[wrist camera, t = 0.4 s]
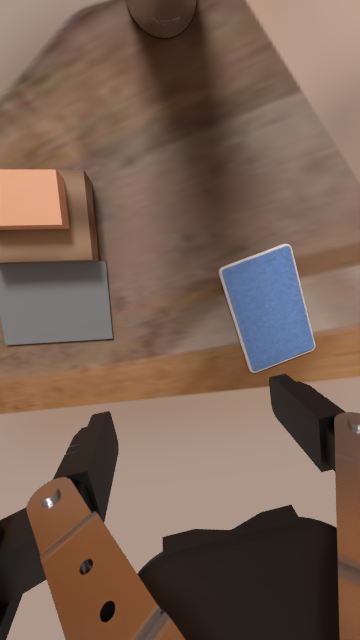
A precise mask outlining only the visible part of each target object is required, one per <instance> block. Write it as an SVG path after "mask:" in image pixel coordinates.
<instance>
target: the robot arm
mask: <svg viewBox="0 0 360 640" xmlns="http://www.w3.org/2000/svg"><path fill="white" fill-rule="evenodd" d="M196 1H197V0H126V2H127V6H128V9H129V11H130V14H131V15H132V17H133V19H134V20H135V22H136V23H137V24H138V25H139V26H140V27H141V28H142V29H143V30H144V31H146V32H147V33H148V34H151V35H153V36H155V37H160V38H170V37H173V36H176V35H178V34H179V33H181V32H182V31H184V30H185V28H186V27H187V26H188V25H189V23H190V22H191V20H192V18H193V15H194V12H195V8H196ZM269 385H270V395H271V404H272V409H273V412H274V414H275V416H276V417H277V419H278V420H279V421H280V423H281V424H282V425H283V426H284V427H285V428H286V430H287V431H288V432H289V433H290V434H291V436H292V437H293V438H294V439H295V440H296V442H297V443H298V444H299V445H300V447H301V448H302V449H303V450H304V451H305V453H306V454H307V455H308V456H309V457H310V459H311V460H312V461H313V462H314V463H315V465H316V466H317V467H318V468H319V469H320V471H321V472H324V471H328V470H332V469H333V470H334V471H335V473H336V511H337V528H336V527H334V526H332V525H329V524H327V523H324V522H322V521H319V520H315V519H311V518H305V517H298V515H297V514H296V512H295V510H294V509H293V507H292V505H289V506H285V507H281V508H277V509H273V510H269V511H265V512H261V513H259V514H257V515H256V516H254V517H252V518H251V519H249V520H248V521H246V522H244V523H242V524H241V525H239V526H237V527H236V528H234V529H232V530H204V529H194V530H190V531H186V532H182V533H178V534H174V535H170V536H166V537H163V552H161V553H159V554H158V555H156V556H155V557H154V558H152V559H151V560H150V561H149V562H148V563H147V564H146V565H145V566H144V567H143V568H142V569H141V570H140V571H139V573H138V574H137V573H136V572H135V570H134V568H133V567H132V565H131V564H130V562H129V561H128V559H127V558H126V556H125V555H124V553H123V552H122V550H121V549H120V547H119V546H118V545H117V543H116V541H115V540H114V538H113V537H112V535H111V534H110V532H109V530H108V529H107V527H106V526H105V524H104V521H105V516H106V510H107V506H108V501H109V495H110V491H111V486H112V481H113V476H114V471H115V466H116V461H117V456H118V440H117V436H116V432H115V429H114V424H113V421H112V417H111V414H110V412H109V411H108V412H104V413H98V414H94V415H92V417H91V419H90V422H89V424H88V426H87V427H85V428H82V429H81V430H80V431H79V432H78V433H77V434H76V435H75V436H74V437H73V440H72V442H71V444H70V447H69V448H68V450H67V452H66V455H65V456H64V458H63V460H62V462H61V464H60V466H59V468H58V470H57V472H56V474H55V476H54V478H53V480H51V481H50V482H48V483H46V484H44V485H43V486H42V487H41V488H39V489H38V490H37V491H36V492H35V493H34V494H33V495H32V497H31V498H30V500H29V502H28V504H27V507H26V508H24V509H22V510H20V511H18V512H16V513H14V514H12V515H10V516H8V517H6V518H4V519H2V520H0V640H6V638H7V635H8V633H9V630H10V627H11V624H12V622H13V619H14V616H15V613H16V611H17V608H18V605H19V603H20V600H21V597H22V594H23V593H25V592H26V591H28V590H30V589H31V588H33V587H35V586H36V585H38V584H39V583H41V582H43V581H45V580H46V579H47V582H48V585H49V588H50V591H51V594H52V598H53V601H54V604H55V607H56V610H57V614H58V617H59V620H60V623H61V626H62V630H63V633H64V636H65V639H66V640H360V413H354V412H345V411H344V410H342V409H341V408H339V407H338V406H337V405H335V404H334V403H333V402H331V401H330V400H329V399H327V398H326V397H324V396H323V395H322V394H320V393H319V392H317V391H316V390H315V389H314V388H312V387H311V386H310V385H307V384H304V383H302V382H299V381H298V382H295V381H294V380H293V379H291V378H290V377H289V376H288V375H286V374H282V375H278V376H273V377H270V379H269Z"/></svg>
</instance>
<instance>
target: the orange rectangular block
mask: <svg viewBox="0 0 360 640" xmlns="http://www.w3.org/2000/svg"><path fill="white" fill-rule="evenodd" d="M24 229H70V228H69V220H68V211H67V203H66V194H65V186H64V178H63V177H62V176H61V175H60V174H59V173H58V172H57V171H56V170H2V169H0V230H24Z"/></svg>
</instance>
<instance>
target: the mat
mask: <svg viewBox="0 0 360 640" xmlns="http://www.w3.org/2000/svg"><path fill="white" fill-rule="evenodd" d="M0 317H1V322H2V328H3V334H4V339H5V345H17V344H33V343H50V342H66V341H82V340H99V339H113V332H112V321H111V310H110V299H109V288H108V277H107V266H106V261H91V262H58V263H26V264H0Z"/></svg>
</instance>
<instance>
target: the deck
mask: <svg viewBox="0 0 360 640" xmlns="http://www.w3.org/2000/svg"><path fill="white" fill-rule="evenodd" d="M2 170H34V169H2ZM56 171H57V172H58V173H59V174H60V175H61V176H62V177H63V178H64V186H65V194H66V203H67V211H68V220H69V228H70V229H24V230H0V264H26V263H58V262H91V261H99V254H98V243H97V233H96V223H95V212H94V202H93V192H92V182H91V180H90V179H89V177H88V176H87V174H86V173H85V171H84V170H56Z"/></svg>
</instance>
